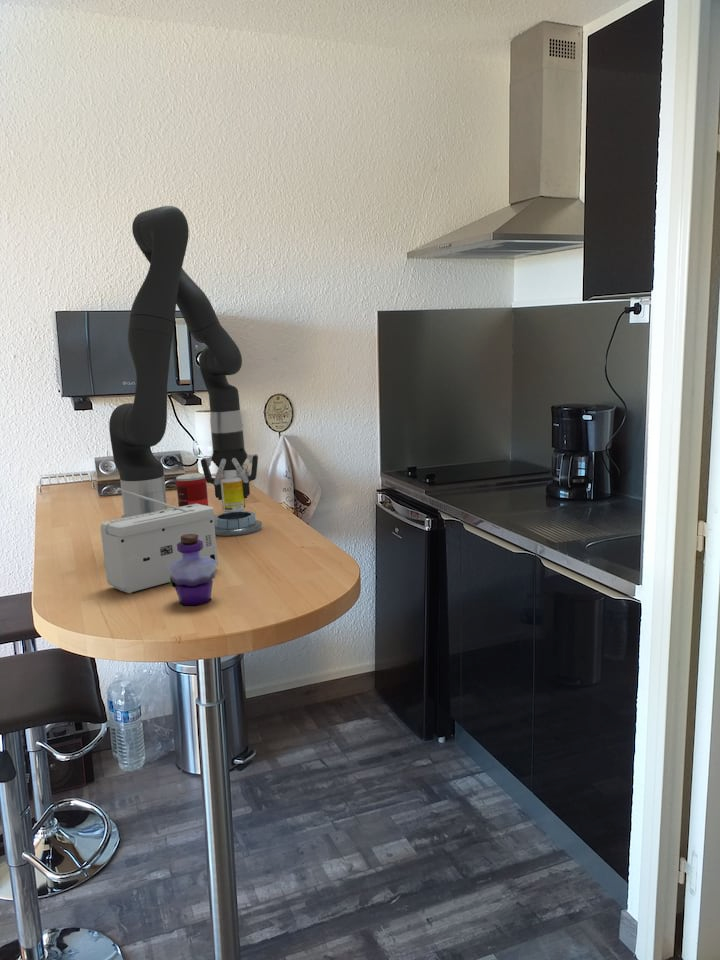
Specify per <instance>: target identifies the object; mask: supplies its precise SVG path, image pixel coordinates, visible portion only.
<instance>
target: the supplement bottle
mask: <svg viewBox="0 0 720 960" xmlns="http://www.w3.org/2000/svg"><path fill="white" fill-rule="evenodd" d="M243 482H244V481H243V479H242V477H241V476H240V474H239V473H238V471H237V470H225V471H223V474H222V477H221V479H220V487H221V497H222V500H221V506H222V511H223V512H224V513H226V512H239V511H245V510H246V498H244V490H243Z"/></svg>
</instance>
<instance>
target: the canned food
mask: <svg viewBox="0 0 720 960" xmlns="http://www.w3.org/2000/svg"><path fill="white" fill-rule="evenodd" d="M175 482H176V493H177V504H178V507H182V506H187V505H192V504H200V505H206V506H209V499H208V488H207V482H206V479H205V475H204V473H187V474H182V475H177V476H176V477H175Z"/></svg>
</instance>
